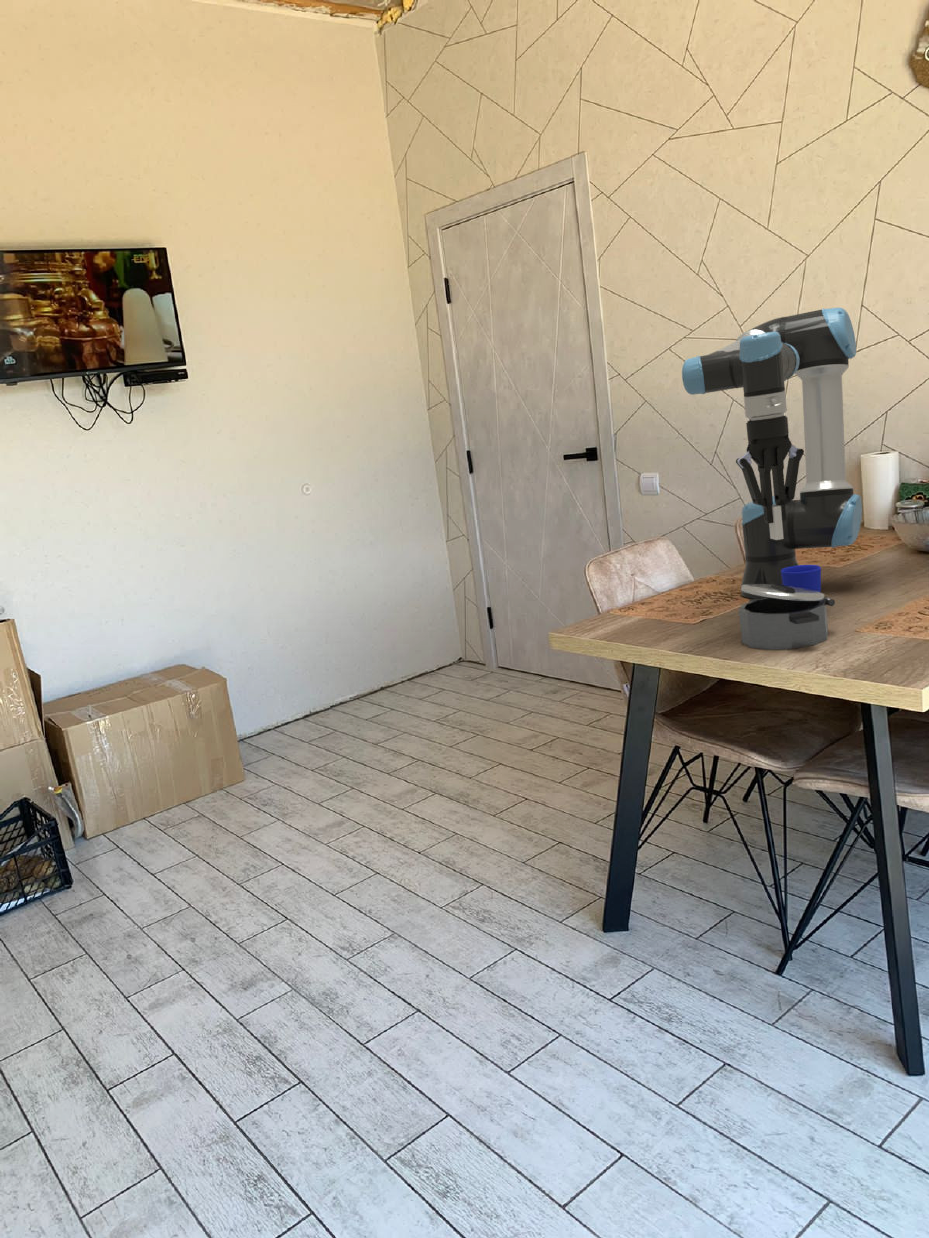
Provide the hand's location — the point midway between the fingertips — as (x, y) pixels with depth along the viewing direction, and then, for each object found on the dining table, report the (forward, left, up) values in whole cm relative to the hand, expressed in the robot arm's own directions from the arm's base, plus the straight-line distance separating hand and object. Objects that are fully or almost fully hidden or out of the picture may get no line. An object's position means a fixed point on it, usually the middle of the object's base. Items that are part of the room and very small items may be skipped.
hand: (776, 538), depth 183 cm
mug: (-19, +13, -20) cm, 30 cm away
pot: (0, 0, -20) cm, 20 cm away
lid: (0, 0, -11) cm, 11 cm away
